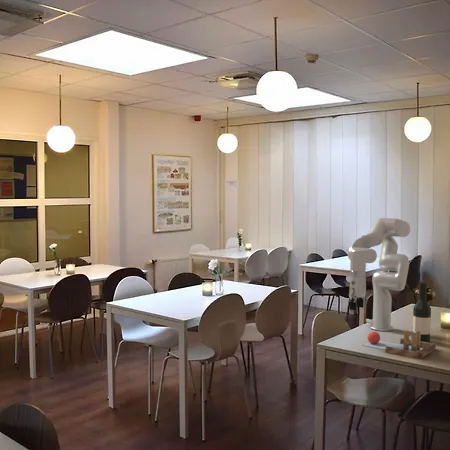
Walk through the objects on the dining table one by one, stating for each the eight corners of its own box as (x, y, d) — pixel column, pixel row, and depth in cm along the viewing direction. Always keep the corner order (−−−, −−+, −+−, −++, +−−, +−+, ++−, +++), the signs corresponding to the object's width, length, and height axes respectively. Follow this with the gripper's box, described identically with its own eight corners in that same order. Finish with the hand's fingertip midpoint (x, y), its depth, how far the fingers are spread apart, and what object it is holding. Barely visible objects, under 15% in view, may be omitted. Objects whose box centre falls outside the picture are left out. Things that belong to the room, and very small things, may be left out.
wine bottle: (411, 341, 272) (414, 282, 270) (412, 337, 280) (414, 280, 278) (429, 343, 269) (431, 283, 267) (429, 339, 276) (432, 281, 275)
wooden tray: (385, 352, 252) (385, 345, 252) (401, 343, 269) (401, 337, 268) (421, 359, 242) (421, 352, 242) (435, 349, 259) (435, 342, 258)
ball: (365, 343, 266) (365, 331, 266) (370, 341, 271) (370, 329, 270) (377, 346, 262) (377, 333, 262) (381, 343, 267) (382, 331, 267)
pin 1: (410, 352, 252) (411, 333, 251) (412, 351, 254) (412, 332, 253) (415, 353, 250) (416, 334, 250) (417, 352, 252) (417, 333, 252)
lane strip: (362, 345, 263) (362, 345, 263) (373, 339, 274) (373, 339, 274) (420, 356, 246) (420, 356, 246) (430, 350, 257) (430, 349, 257)
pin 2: (413, 350, 256) (414, 331, 255) (415, 349, 258) (416, 330, 257) (419, 351, 254) (419, 332, 254) (420, 350, 256) (421, 331, 256)
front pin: (402, 349, 256) (403, 331, 256) (404, 348, 258) (405, 330, 258) (407, 350, 255) (408, 331, 255) (409, 349, 257) (410, 330, 256)
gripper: (357, 276, 261) (356, 312, 262) (371, 273, 275) (370, 307, 276) (343, 274, 266) (342, 310, 267) (357, 271, 280) (356, 305, 280)
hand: (356, 308), depth 271 cm, fingers open, 8 cm apart
